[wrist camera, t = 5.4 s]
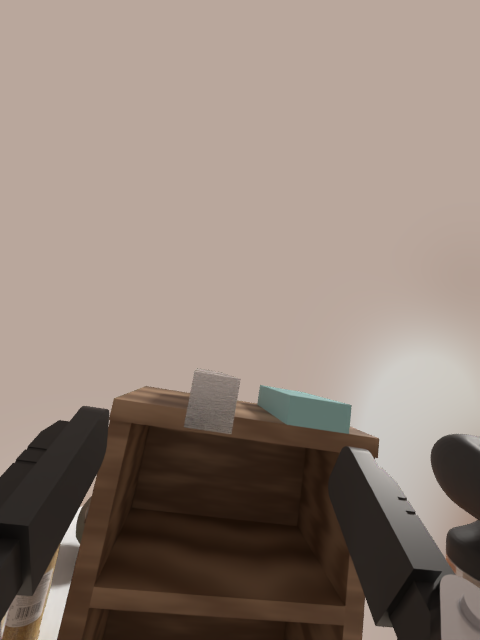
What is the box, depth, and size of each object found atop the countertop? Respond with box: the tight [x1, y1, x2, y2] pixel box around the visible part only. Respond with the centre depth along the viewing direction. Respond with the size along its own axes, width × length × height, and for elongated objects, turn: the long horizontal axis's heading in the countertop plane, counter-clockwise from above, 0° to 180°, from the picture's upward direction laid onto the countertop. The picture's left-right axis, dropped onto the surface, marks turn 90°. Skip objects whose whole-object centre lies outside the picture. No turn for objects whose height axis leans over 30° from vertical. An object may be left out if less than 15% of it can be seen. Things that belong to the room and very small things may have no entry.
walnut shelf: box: [57, 386, 379, 640], centre depth 33 cm, size 16×28×32 cm, turn 98°
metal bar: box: [184, 368, 240, 434], centre depth 30 cm, size 20×4×4 cm, turn 8°
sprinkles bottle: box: [2, 545, 60, 640], centre depth 35 cm, size 5×5×14 cm
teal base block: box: [257, 385, 351, 434], centre depth 37 cm, size 15×7×3 cm, turn 8°
